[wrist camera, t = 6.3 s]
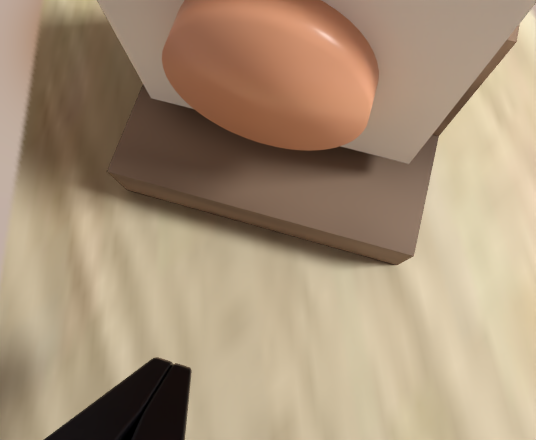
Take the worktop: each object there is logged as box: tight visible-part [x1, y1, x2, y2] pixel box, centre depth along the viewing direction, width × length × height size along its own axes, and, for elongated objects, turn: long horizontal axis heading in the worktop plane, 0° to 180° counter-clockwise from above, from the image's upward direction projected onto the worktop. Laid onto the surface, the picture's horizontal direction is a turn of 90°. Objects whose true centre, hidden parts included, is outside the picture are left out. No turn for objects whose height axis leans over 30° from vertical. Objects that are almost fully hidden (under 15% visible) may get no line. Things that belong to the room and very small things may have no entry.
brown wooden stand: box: [107, 25, 519, 265], centre depth 14 cm, size 8×11×7 cm
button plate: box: [97, 0, 536, 164], centre depth 10 cm, size 2×9×8 cm, turn 74°
